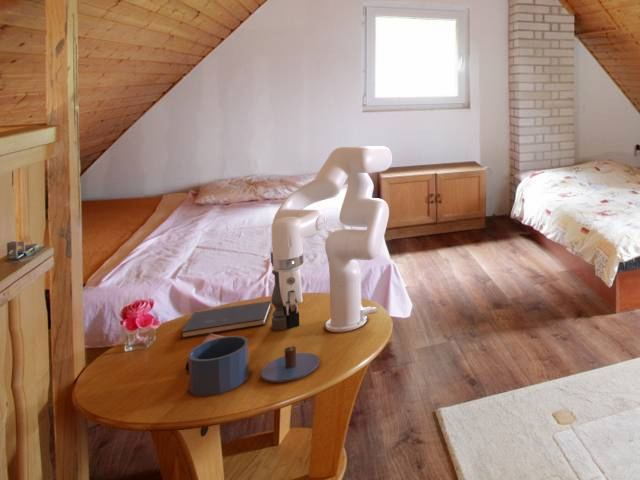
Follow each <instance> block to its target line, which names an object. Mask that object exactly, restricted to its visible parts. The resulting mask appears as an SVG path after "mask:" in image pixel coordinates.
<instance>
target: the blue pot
mask: <svg viewBox="0 0 640 480" xmlns="http://www.w3.org/2000/svg"><path fill="white" fill-rule="evenodd" d="M201 343H202V342H201ZM201 343H200V344H198V345H196V346H195V347H193V348H192V349H191V350H190V351H189V352H188V357H187V358H188V361H187V362H188V364H189V372H188V385H189V386H188V388H189V393H191V394H192V395H194V396H197V397H209V396H210V397H211V396H215V395H220V394H223V393H227V392H230V391H232V390H234V389H236V388H238V387H239V386H241V385H242V384H244V383H245V382H246V381H247V380H248V378H249V376H250V357H249V339H248V338H247V337H245V336H241V335H228V336H227V335H226V336H225V337H221V338H216V339H213V340H209V341H207V342H205V343H202V344H201Z"/></svg>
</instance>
